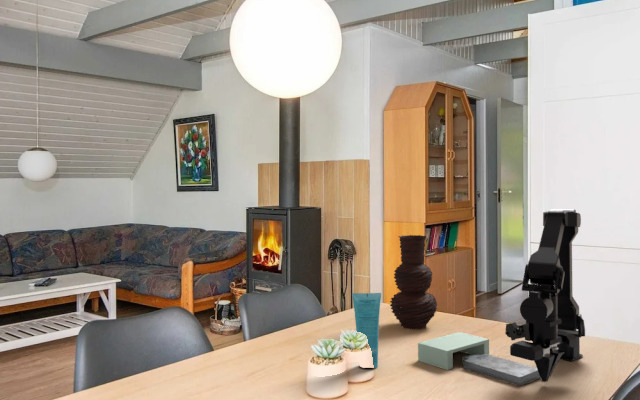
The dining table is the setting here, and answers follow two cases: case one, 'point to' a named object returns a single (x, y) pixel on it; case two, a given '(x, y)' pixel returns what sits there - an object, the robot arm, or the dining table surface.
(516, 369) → the grey flat block
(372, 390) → the dining table surface
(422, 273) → the vase
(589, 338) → the dining table surface
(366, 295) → the tube
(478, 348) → the pale mint green box
